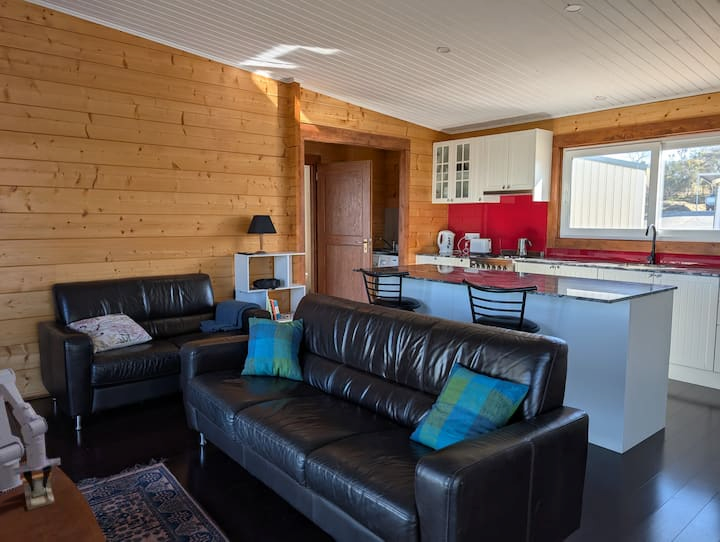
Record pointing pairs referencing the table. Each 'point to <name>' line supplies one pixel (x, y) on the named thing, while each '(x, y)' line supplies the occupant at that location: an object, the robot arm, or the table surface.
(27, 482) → the orange brown bar
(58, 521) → the table surface
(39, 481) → the greenish grey block
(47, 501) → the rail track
